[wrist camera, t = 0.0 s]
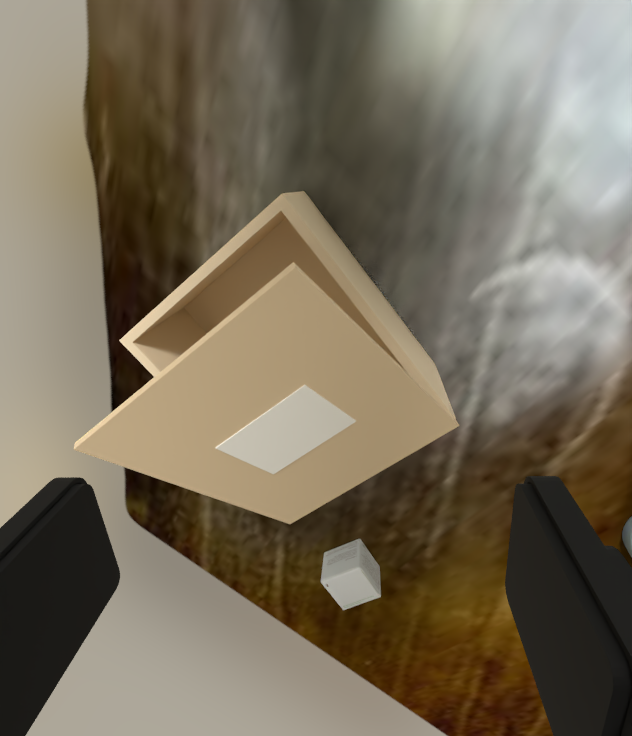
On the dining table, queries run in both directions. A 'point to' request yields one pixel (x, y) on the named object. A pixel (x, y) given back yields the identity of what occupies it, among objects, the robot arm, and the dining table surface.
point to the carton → (257, 268)
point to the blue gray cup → (628, 535)
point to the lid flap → (274, 408)
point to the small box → (351, 574)
